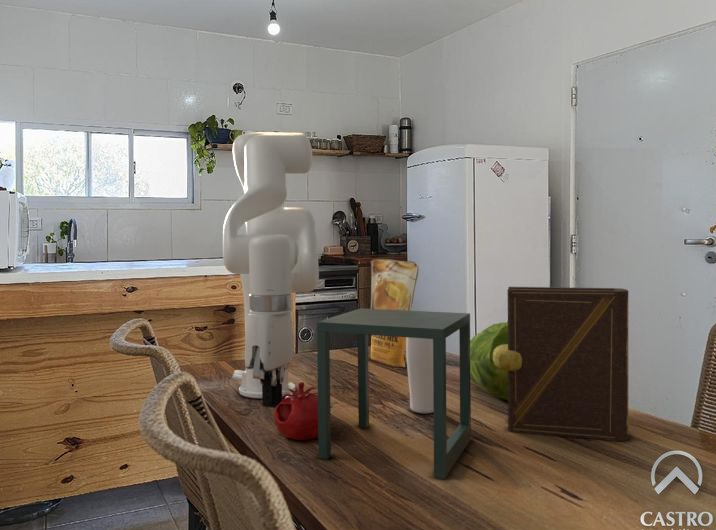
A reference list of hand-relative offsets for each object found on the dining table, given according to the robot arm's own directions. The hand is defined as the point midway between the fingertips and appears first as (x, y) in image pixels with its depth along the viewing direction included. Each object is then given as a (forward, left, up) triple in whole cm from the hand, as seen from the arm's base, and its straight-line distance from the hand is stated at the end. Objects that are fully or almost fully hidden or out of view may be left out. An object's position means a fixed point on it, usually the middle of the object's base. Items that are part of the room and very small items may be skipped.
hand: (272, 405), depth 107 cm
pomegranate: (+6, 0, -5) cm, 7 cm away
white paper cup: (+21, +22, -5) cm, 31 cm away
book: (+46, +20, -5) cm, 51 cm away
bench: (+23, 0, -4) cm, 24 cm away
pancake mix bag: (0, +62, -5) cm, 62 cm away
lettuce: (+33, +40, -5) cm, 53 cm away
